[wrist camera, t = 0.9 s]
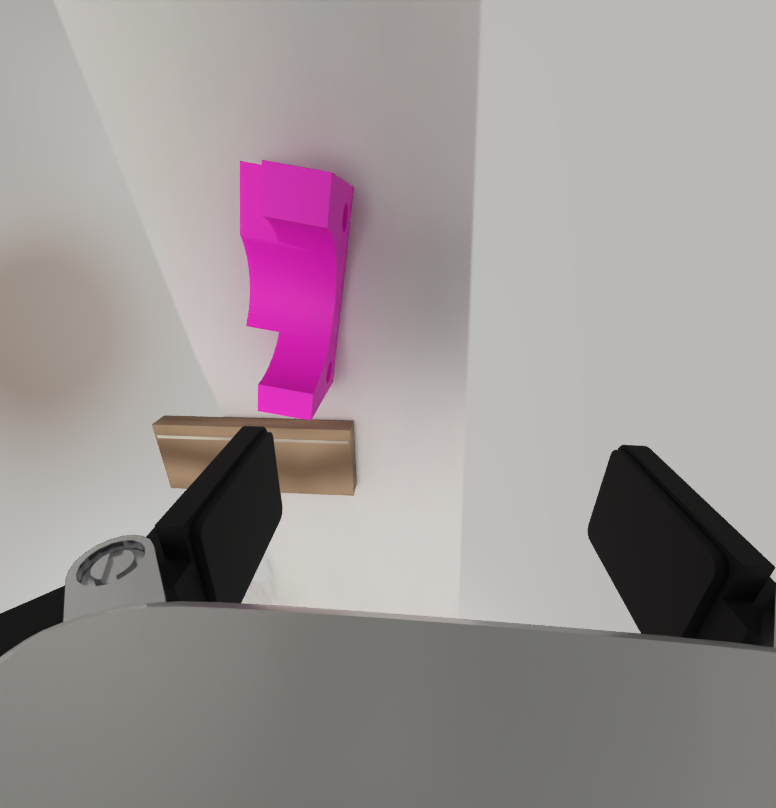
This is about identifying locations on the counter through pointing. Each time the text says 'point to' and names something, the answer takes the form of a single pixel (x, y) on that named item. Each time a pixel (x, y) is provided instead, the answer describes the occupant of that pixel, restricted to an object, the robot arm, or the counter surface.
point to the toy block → (295, 276)
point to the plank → (294, 447)
